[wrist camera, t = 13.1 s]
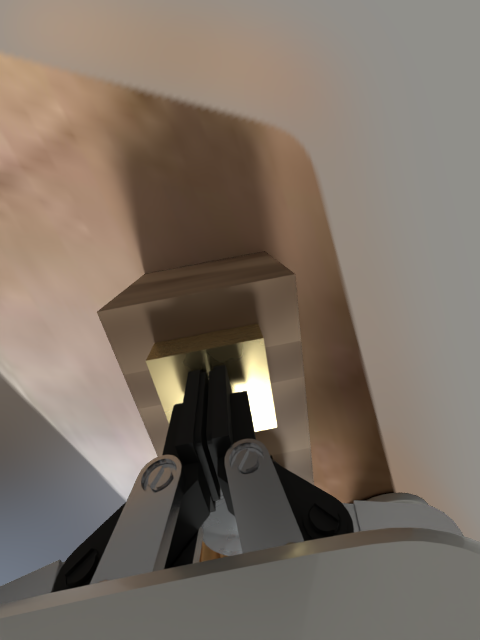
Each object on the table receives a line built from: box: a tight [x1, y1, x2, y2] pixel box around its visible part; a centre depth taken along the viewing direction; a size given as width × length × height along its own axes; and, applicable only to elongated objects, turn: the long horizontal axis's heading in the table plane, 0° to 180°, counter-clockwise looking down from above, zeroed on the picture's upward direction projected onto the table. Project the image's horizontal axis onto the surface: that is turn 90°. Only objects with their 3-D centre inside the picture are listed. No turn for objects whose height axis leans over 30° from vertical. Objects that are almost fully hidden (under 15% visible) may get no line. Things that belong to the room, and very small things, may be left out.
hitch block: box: [97, 251, 314, 485], centre depth 18 cm, size 18×9×8 cm, turn 10°
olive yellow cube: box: [146, 323, 277, 431], centre depth 14 cm, size 5×5×5 cm
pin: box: [203, 459, 281, 556], centre depth 18 cm, size 5×5×10 cm
